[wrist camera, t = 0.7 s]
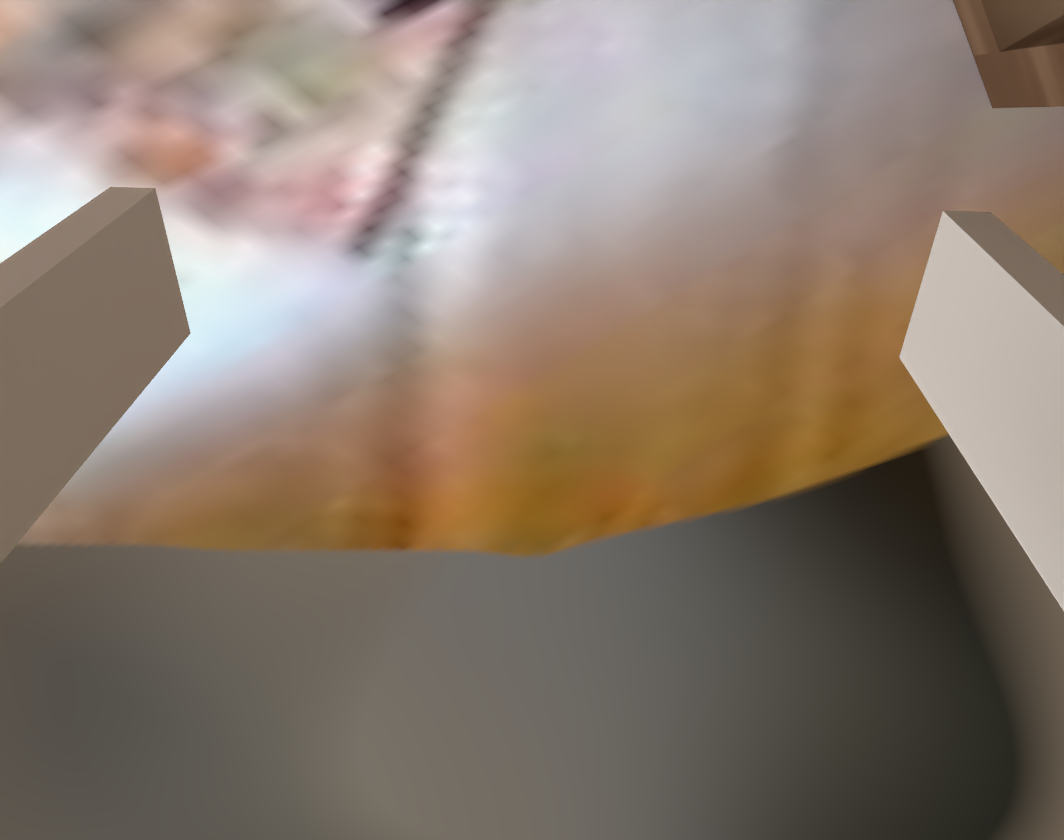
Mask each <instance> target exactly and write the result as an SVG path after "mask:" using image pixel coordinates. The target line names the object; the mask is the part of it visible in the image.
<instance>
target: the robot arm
mask: <svg viewBox="0 0 1064 840" xmlns="http://www.w3.org/2000/svg"><path fill="white" fill-rule="evenodd" d="M189 334H190V330H189V326H188V321H187V317H186V313H185V309H184V305H183V301H182V297H181V293H180V288H179V284H178V280H177V276H176V272H175V268H174V264H173V260H172V256H171V251H170V247H169V243H168V239H167V235H166V231H165V227H164V223H163V218H162V214H161V210H160V206H159V202H158V198H157V194H156V190H155V188H126V187H110V188H109V189H107V190H106V191H104V192H103V193H101V194H100V195H98V196H97V197H96V198H94V199H93V200H91V201H90V202H88V203H87V204H85V205H84V206H83V207H81V208H80V209H78V210H77V211H75V212H74V213H73V214H71V215H70V216H68V217H67V218H65V219H64V220H62V221H61V222H60V223H58V224H57V225H55V226H54V227H52V228H51V229H49V230H48V231H47V232H45V233H44V234H42V235H41V236H39V237H38V238H36V239H35V240H34V241H32V242H31V243H29V244H28V245H26V246H25V247H24V248H22V249H21V250H19V251H18V252H16V253H15V254H13V255H12V256H11V257H9V258H8V259H6V260H5V261H3V262H2V263H0V564H1V562H2V561H3V560H4V559H5V557H6V556H7V555H8V554H9V553H10V552H11V550H12V549H13V548H14V547H15V545H16V544H17V543H18V542H19V541H20V539H21V538H22V537H23V536H24V535H25V533H26V532H27V531H28V530H29V528H30V527H31V526H32V525H33V524H34V522H35V521H36V520H37V519H38V518H39V516H40V515H41V514H42V513H43V511H44V510H45V509H46V508H47V507H48V505H49V504H50V503H51V502H52V501H53V499H54V498H55V497H56V496H57V495H58V493H59V492H60V491H61V490H62V488H63V487H64V486H65V485H66V484H67V482H68V481H69V480H70V479H71V478H72V476H73V475H74V474H75V473H76V471H77V470H78V469H79V468H80V467H81V465H82V464H83V463H84V462H85V461H86V459H87V458H88V457H89V456H90V454H91V453H92V452H93V451H94V450H95V448H96V447H97V446H98V445H99V444H100V442H101V441H102V440H103V439H104V437H105V436H106V435H107V434H108V433H109V431H110V430H111V429H112V428H113V427H114V425H115V424H116V423H117V422H118V420H119V419H120V418H121V417H122V416H123V414H124V413H125V412H126V411H127V410H128V408H129V407H130V406H131V405H132V404H133V402H134V401H135V400H136V399H137V397H138V396H139V395H140V394H141V393H142V391H143V390H144V389H145V388H146V387H147V385H148V384H149V383H150V382H151V380H152V379H153V378H154V377H155V376H156V374H157V373H158V372H159V371H160V370H161V368H162V367H163V366H164V365H165V363H166V362H167V361H168V360H169V359H170V357H171V356H172V355H173V354H174V353H175V351H176V350H177V349H178V348H179V346H180V345H181V344H182V343H183V342H184V340H185V339H186V338H187V337H188V336H189ZM899 358H900V359H901V361H902V362H903V364H904V365H905V367H906V368H907V370H908V372H909V373H910V375H911V376H912V378H913V379H914V381H915V382H916V384H917V385H918V387H919V389H920V390H921V392H922V393H923V395H924V396H925V398H926V399H927V401H928V402H929V404H930V405H931V407H932V409H933V410H934V412H935V413H936V415H937V416H938V418H939V419H940V421H941V422H942V424H943V426H944V427H945V429H946V430H947V432H948V433H949V435H950V436H951V438H952V439H953V441H954V443H955V444H956V446H957V447H958V449H959V450H960V452H961V453H962V455H963V456H964V458H965V459H966V461H967V462H968V464H969V466H970V467H971V469H972V470H973V472H974V473H975V475H976V476H977V478H978V480H979V481H980V483H981V484H982V486H983V487H984V489H985V490H986V492H987V493H988V495H989V497H990V498H991V499H992V501H993V503H994V504H995V506H996V507H997V509H998V510H999V512H1000V513H1001V515H1002V516H1003V518H1004V520H1005V521H1006V523H1007V524H1008V526H1009V527H1010V529H1011V530H1012V532H1013V533H1014V535H1015V536H1016V538H1017V540H1018V541H1019V543H1020V544H1021V546H1022V547H1023V549H1024V550H1025V552H1026V554H1027V555H1028V557H1029V558H1030V560H1031V561H1032V563H1033V564H1034V566H1035V567H1036V569H1037V571H1038V572H1039V574H1040V575H1041V577H1042V578H1043V580H1044V581H1045V583H1046V584H1047V586H1048V588H1049V589H1050V591H1051V592H1052V594H1053V595H1054V597H1055V598H1056V600H1057V601H1058V603H1059V604H1060V606H1061V608H1062V609H1063V611H1064V274H1063V273H1061V272H1060V271H1059V270H1058V269H1057V268H1055V267H1054V266H1053V265H1052V264H1051V263H1050V262H1048V261H1047V260H1046V259H1045V258H1044V257H1042V256H1041V255H1040V254H1039V253H1038V252H1037V251H1035V250H1034V249H1033V248H1032V247H1031V246H1030V245H1028V244H1027V243H1026V242H1025V241H1024V240H1022V239H1021V238H1020V237H1019V236H1018V235H1017V234H1015V233H1014V232H1013V231H1012V230H1011V229H1010V228H1008V227H1007V226H1006V225H1005V224H1004V223H1002V222H1001V221H1000V220H999V219H998V218H997V217H995V216H994V215H993V214H992V213H991V212H963V211H943V213H942V216H941V219H940V223H939V226H938V229H937V233H936V236H935V240H934V243H933V246H932V250H931V253H930V256H929V260H928V263H927V266H926V270H925V273H924V276H923V280H922V283H921V287H920V290H919V293H918V297H917V300H916V303H915V307H914V310H913V313H912V317H911V320H910V324H909V327H908V330H907V334H906V337H905V340H904V344H903V347H902V350H901V354H900V357H899Z"/></svg>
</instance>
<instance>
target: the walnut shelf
mask: <svg viewBox="0 0 1064 840" xmlns="http://www.w3.org/2000/svg"><path fill="white" fill-rule="evenodd" d="M953 1H954V4H955V7H956V9H957V12H958V15H959V18H960V20H961V23H962V26H963V28H964V31H965V34H966V37H967V39H968V42H969V45H970V48H971V50H972V53H973V56H974V58H975V61H976V64H977V67H978V69H979V72H980V75H981V78H982V80H983V83H984V86H985V89H986V91H987V94H988V97H989V99H990V102H991V105H992V108H1013V107H1055V106H1064V0H953Z"/></svg>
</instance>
